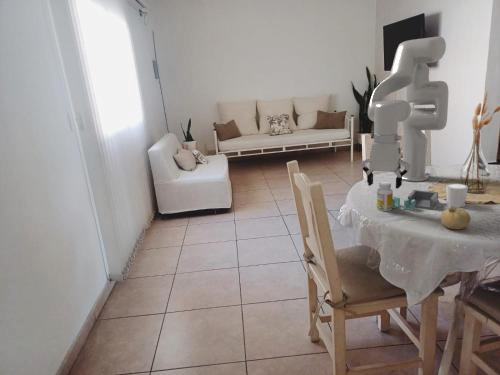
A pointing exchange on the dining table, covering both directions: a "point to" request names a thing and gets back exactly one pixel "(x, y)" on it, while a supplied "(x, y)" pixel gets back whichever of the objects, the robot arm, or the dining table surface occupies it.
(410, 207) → the clip
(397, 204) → the clip
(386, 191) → the supplement bottle
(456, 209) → the onion
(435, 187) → the dining table surface
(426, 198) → the holder
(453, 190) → the white cup
